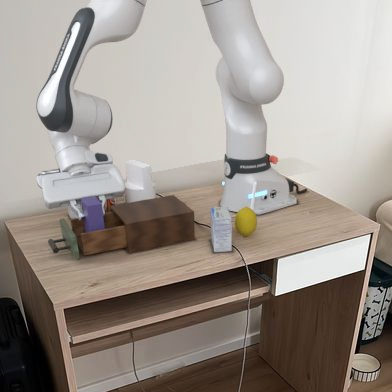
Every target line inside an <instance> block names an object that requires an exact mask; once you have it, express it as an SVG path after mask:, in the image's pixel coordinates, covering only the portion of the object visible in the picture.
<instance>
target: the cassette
mask: <svg viewBox="0 0 392 392" xmlns="http://www.w3.org/2000/svg"><path fill="white" fill-rule="evenodd" d="M66 207H67V212H68V216H69V218H70V219H73V218H78V216H77V215H76V214H75V213H74V212H73V211H72V210H71V208H70V206H66ZM76 207H77V208H78V209H79V210H80V211H82V205H81V204H77V205H76Z"/></svg>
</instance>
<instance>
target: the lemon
mask: <svg viewBox="0 0 392 392" xmlns="http://www.w3.org/2000/svg"><path fill="white" fill-rule="evenodd" d="M234 218H235V219H234V228H235V230H236V232H237V233H238V234H239V235H241V236H242V237H244V238H248V237H249V236H250V235H252V234H253V233H255V232H256V229H257V226H258V218H257V214H255V212H254V211H253V210H252V209H250V208H248V207H245V208H242V209H240V210H239V211H238V212H236V214H235V217H234Z"/></svg>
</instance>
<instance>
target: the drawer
mask: <svg viewBox="0 0 392 392" xmlns="http://www.w3.org/2000/svg"><path fill="white" fill-rule="evenodd" d="M103 218H104V226H105V229H102V230H96V231H91V232H85V225H84V220H80V221H79V219H78V218H73V219H72V218H69V219H70V225H69V223H68V222H67V220H66V219H65V217H63V218H59V225H60V230H61V236H62V238H58V239H53V238H48V240H47V243H48V245H49V248H50V249H51V251H52V252H53V253H54V254H59V252H60V251H65V250H68V251H69V253H70V254H71V256H72V258H73V259H74V260H79V259H81V258H80V251H81V253H82V254H83V255H84V256H88V255H93V254H98V253H103V252H108V251H109V252H110V251H114V250H119V249H123V248H124V249H125V247H128V244H127V235H126V226H125V225H124V223H123V222H122V221H121V220H120V219H119V218H118V217H117V216H116V215H115V214H114V212H110V211H106V212H105V216H103ZM63 242H64V245H65V246H60V247H58V246H57V244H58V243H63ZM79 250H80V251H79Z"/></svg>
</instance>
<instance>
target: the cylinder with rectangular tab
mask: <svg viewBox="0 0 392 392" xmlns="http://www.w3.org/2000/svg"><path fill="white" fill-rule="evenodd" d="M124 164H125V174H126V182H124V183H125V186H126V190H125V193H124V201H125V203H130V202H136V201H141V200H147V199H153V198H157V193H156V192H157V190H156V183H155V181H153V176H152V165H151V164H148V163H145V162H142V161H139V160H137V159H134V158H133V159H128V160H125V161H124Z"/></svg>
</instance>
